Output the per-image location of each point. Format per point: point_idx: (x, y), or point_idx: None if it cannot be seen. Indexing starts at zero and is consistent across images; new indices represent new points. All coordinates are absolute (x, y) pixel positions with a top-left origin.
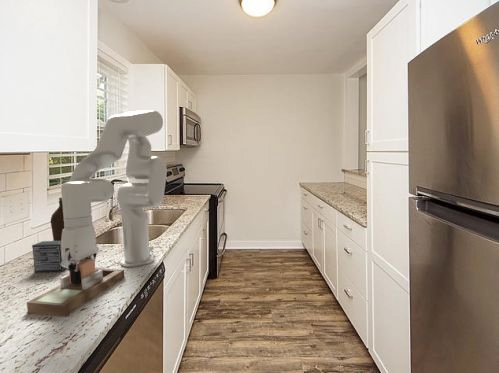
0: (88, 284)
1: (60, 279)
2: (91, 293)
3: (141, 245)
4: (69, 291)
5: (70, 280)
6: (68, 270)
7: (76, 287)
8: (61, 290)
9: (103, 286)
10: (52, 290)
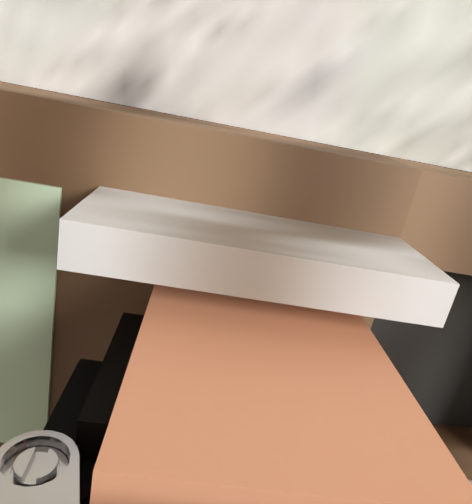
0: None
1: (67, 214)
2: None
3: None
4: (6, 346)
5: (153, 294)
6: (1, 454)
7: None
8: (16, 248)
9: None
10: (11, 128)
